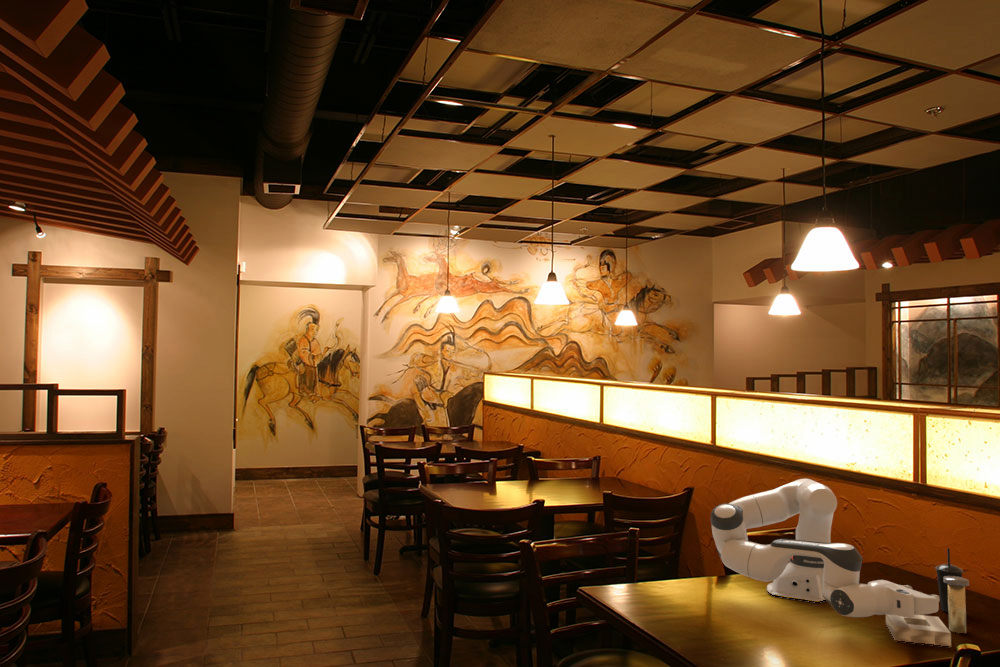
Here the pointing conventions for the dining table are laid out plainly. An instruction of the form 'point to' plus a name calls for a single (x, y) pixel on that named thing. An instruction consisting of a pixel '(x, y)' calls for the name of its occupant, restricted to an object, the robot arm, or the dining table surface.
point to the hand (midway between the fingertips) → (923, 593)
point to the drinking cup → (943, 587)
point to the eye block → (919, 629)
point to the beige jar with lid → (956, 603)
